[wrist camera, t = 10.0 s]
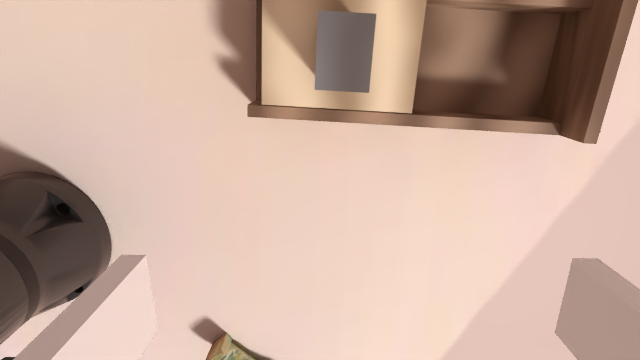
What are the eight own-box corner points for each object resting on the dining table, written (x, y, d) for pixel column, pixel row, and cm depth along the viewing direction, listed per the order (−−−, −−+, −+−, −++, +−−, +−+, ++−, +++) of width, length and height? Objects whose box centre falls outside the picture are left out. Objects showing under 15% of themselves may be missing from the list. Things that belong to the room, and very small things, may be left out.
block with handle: (272, 97, 35) (232, 123, 21) (273, 1, 33) (229, -42, 19) (399, 105, 35) (445, 136, 21) (410, 9, 33) (472, -29, 18)
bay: (258, 109, 37) (239, 122, 29) (258, -14, 33) (236, -36, 26) (541, 126, 37) (596, 143, 29) (570, 3, 33) (641, -13, 26)
